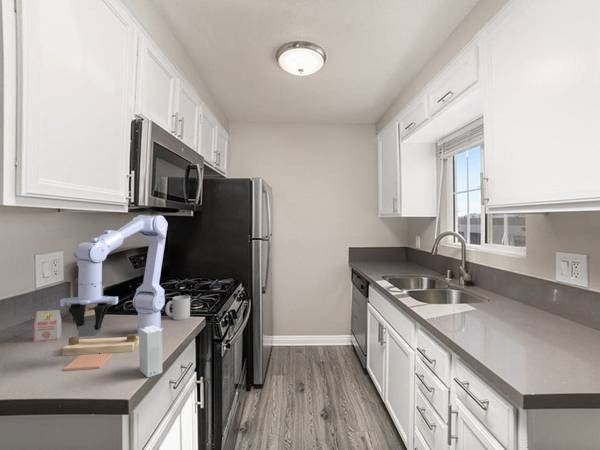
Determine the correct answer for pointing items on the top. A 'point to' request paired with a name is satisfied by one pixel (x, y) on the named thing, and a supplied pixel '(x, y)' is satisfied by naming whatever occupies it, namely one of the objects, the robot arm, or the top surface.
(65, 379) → the top surface
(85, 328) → the gray rectangular block
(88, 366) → the terracotta tile
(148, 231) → the robot arm
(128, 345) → the hand plane
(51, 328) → the white red printed carton
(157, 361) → the skincare box
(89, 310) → the liquor
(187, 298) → the cup
